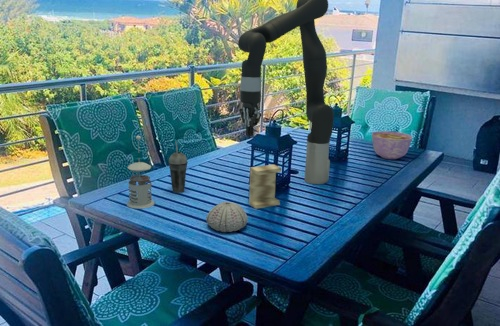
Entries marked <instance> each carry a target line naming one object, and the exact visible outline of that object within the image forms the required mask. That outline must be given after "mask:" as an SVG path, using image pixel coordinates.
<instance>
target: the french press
mask: <svg viewBox="0 0 500 326" xmlns="http://www.w3.org/2000/svg"><path fill="white" fill-rule="evenodd" d="M141 139H142V137H141V136H140V135H136V136H135V140H137V146H138V147H137V148H138V149H137V150H138V152H140V140H141ZM151 168H152V165H150V164H148V163H146V162H143V161H141V160H140V159H138V162H133V163H130V164H129V165H128V166H127V169H128V170H129V171H132V172H134V173H136V174H135V175H134V174H133V175H132V176H130V177H129V179H128V180H129V181H128V196H129V197H128V200H129V201H128V202H126V206H127V207H129V208H131V209H147V208H151V207H153V206H155V201H154V200H153V199H152V180H151V176H149V175H145V174H141V172H145V171H149V170H150V169H151Z"/></svg>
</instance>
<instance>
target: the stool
mask: <svg viewBox="0 0 500 326" xmlns="http://www.w3.org/2000/svg"><path fill="white" fill-rule="evenodd" d="M278 173H282V167H280V166H278V165H276V164H268V165H267V164H266V165H259V166H252V167H251V166H250V167H249V193H248V194H249V195H248V196H249V197H248V205H249V206H251V207H252V208H254V209H255V210H257V209H262V208H263V209H264V208H269V207H274V206H275V207H276V206H280V205H281V203H280V200H279V199H278V198H276V197H275V196H276V179H277V177H276V175H277V174H278Z"/></svg>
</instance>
